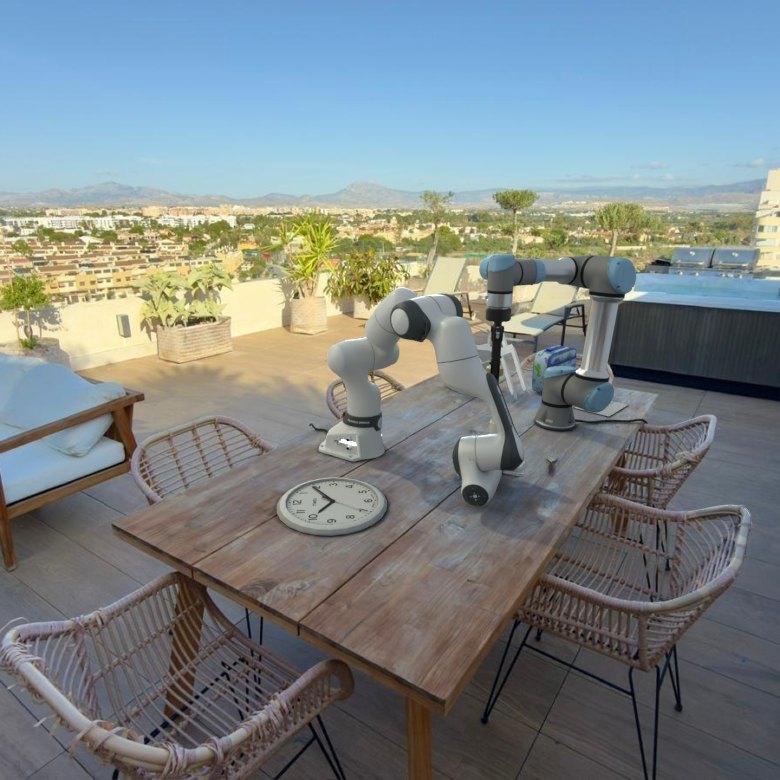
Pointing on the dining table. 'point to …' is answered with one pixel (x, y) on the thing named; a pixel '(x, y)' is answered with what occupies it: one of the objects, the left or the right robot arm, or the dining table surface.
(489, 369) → the lid
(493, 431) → the bottle
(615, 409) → the invitation card
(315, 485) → the wall clock
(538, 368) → the lunch box
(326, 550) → the dining table surface
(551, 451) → the fork
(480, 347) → the white plastic object
